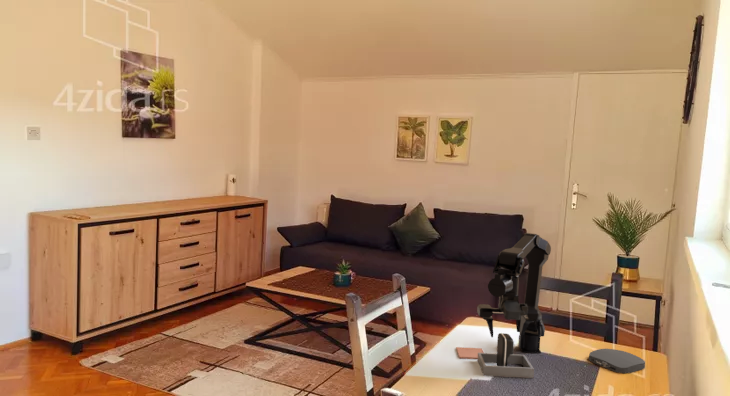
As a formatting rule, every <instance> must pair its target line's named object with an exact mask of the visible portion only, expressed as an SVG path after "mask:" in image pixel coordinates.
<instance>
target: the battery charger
mask: <svg viewBox="0 0 730 396" xmlns="http://www.w3.org/2000/svg"><path fill="white" fill-rule="evenodd" d="M514 342H515V341H514V338H512V337H511V335H510V334H509V333H502V332H501V333H498V334H497V342H496V343H497V346H496V347H497V348H496V354H497V362H496V363H495V366H508V364H507V360H508V357H509V356H510V355H512V354H514V353H515V351H514V350H515V349H514V347H515V346H514V345H515V344H514Z"/></svg>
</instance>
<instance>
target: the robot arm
mask: <svg viewBox="0 0 730 396" xmlns="http://www.w3.org/2000/svg"><path fill="white" fill-rule="evenodd" d="M551 250H552V246H551V244H550V242H549V241H548V240H546V239H544V238H542V237H541V236H540V234H537V233H531V232H530V233H529V232H526V233H523V235H522V237H521V238H520V239H519V241H517V243H515V244H514V246H512V247H511V248H505V249H503V250H502V251H500V252H499V254H498V255H497V258H496V261H495V263H494V267H493V270H492V273H493V274H494V278H492V279H491V280H489V282H488V284H487V290H488V292H489V293H490V295H491V296H493V297H496V298H499V299H498V307H492V306H491V305H490V304H487V303H486V304H485V303H482V304H481V303H479V304H478V305H477V307H476V308H477V309H476V310H477V311H476V312H477V314H478V316H479V318H482V319H483V320H484V321H486V323H487V327H488V330H489V335H490V337H491V338H493V337H494V325H493V324H494V323H493V322H494V318H493V315H503V316H504V319H505V320H508V321H510V320H515V324H516V332H517V333H519V335H518V345H517V346H518V347H519V349H520V351H521V352H522V353H531V354H541V353H542V351H541V350H540V349H541V347H540V346H541V337H545V332H546V331H545V330H546V327H545V325H544V322H543V320H542V319H543V314H542V312H541V310H540V308H539V299H540V291H541V282H542V274H543V267H544V266H545V264H546V263H547V261H548V260H549V256H550V254H551ZM525 260H526V261H527V264H528V271H527V278H526V286H525V287H526V289H525V295H524V303H520V301H519V284H520V283H519V282H520V281H519V280H520V275H521V274H522V271H523V268H524V265H525Z"/></svg>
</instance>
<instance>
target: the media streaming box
mask: <svg viewBox="0 0 730 396" xmlns="http://www.w3.org/2000/svg"><path fill="white" fill-rule="evenodd" d="M588 360H589V362H591V363H593V364H595V365H596V366H599V367H602V368H604V369H607V370H609V371H612V372H614V373H619V374H630V373H635V372H638V371H643V370H644V369H645V368H646V361H645V359H643V358H641V357H639V356H637V355H636V354H633V353H630V352H627V351H624V350H619V349H614V348H613V349H612V348H599V349H595V350H592V351H590V352H589V356H588Z"/></svg>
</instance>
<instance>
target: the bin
mask: <svg viewBox="0 0 730 396" xmlns="http://www.w3.org/2000/svg"><path fill="white" fill-rule="evenodd" d="M476 360H477V361H476V362H477V364H478V366H479V368H480V370H481V373H482V375H483V376H486V377H506V378H524V379H525V378H528V379H534V376H535V368H534V366H533V365H532V364H531V362H530V360H529V358H528V357H527V356H526V355H525V354H518V353H517V354H514V353H513V354H512V355H510V356H509V357H508V360H507V366H497V365H487V363H488V364H496V362H497V352H496V353H491V352H484V353H478V359H476ZM509 364H510V365H522V366H523V367H522V366H508V365H509Z"/></svg>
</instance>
